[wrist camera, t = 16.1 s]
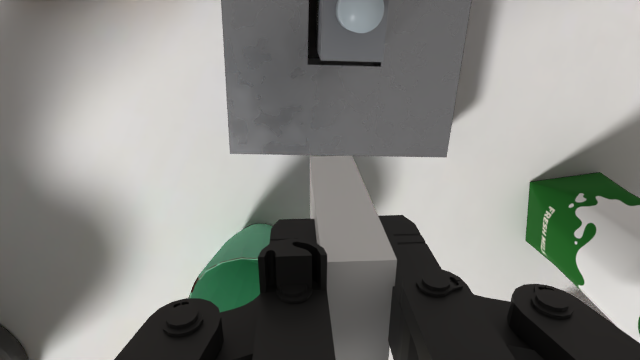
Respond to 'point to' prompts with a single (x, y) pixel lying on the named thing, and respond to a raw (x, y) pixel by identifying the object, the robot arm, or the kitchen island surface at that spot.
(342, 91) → the port block
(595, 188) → the milk carton
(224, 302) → the mug
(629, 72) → the kitchen island surface
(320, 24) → the plug
